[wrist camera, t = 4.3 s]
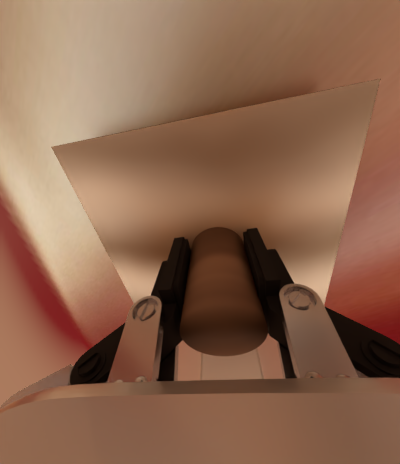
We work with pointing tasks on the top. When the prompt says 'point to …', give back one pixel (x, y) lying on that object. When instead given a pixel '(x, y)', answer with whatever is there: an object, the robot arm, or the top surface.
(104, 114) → the top surface
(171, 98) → the top surface
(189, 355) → the bowl
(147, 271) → the lid
